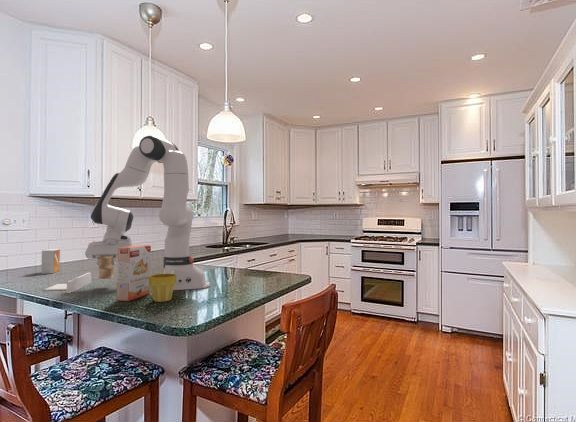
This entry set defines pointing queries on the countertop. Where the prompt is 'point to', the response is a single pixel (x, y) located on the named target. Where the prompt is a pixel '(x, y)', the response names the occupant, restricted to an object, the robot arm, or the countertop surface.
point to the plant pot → (162, 286)
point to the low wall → (78, 282)
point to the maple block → (105, 267)
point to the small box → (50, 261)
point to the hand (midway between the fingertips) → (105, 264)
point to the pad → (57, 287)
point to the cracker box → (133, 272)
